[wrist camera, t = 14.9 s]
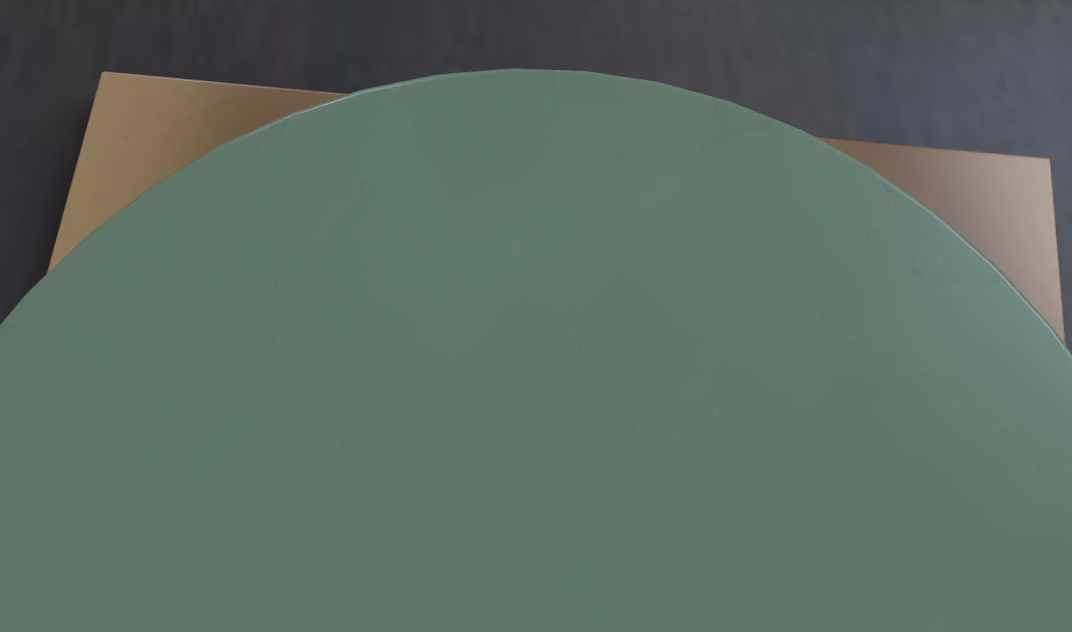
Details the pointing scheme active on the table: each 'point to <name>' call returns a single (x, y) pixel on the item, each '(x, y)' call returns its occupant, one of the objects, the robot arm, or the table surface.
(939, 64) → the table surface
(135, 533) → the lid
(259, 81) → the table surface
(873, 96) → the table surface
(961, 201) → the cork board
